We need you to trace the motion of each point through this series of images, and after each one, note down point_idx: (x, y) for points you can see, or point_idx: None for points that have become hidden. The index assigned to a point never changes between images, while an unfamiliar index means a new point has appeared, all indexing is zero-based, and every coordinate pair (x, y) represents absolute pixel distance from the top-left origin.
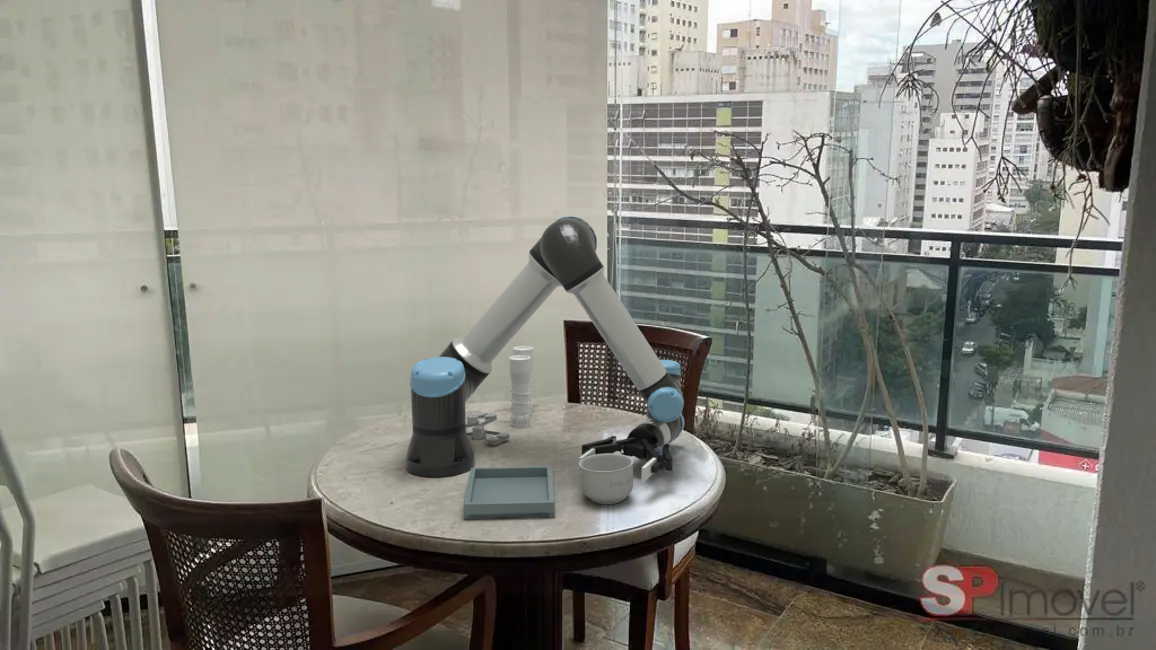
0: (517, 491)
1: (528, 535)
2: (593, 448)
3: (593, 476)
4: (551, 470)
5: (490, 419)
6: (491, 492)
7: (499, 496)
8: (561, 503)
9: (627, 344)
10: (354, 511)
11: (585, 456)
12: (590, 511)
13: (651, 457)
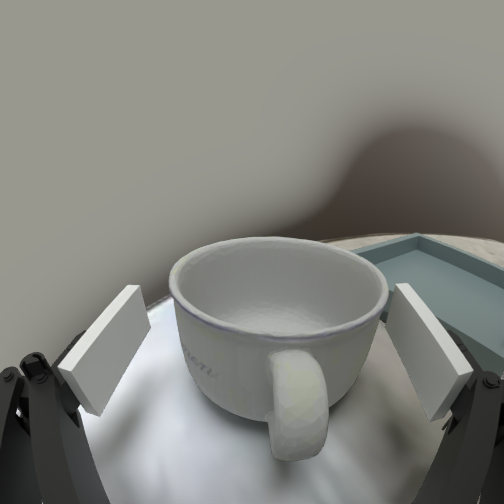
0: (448, 298)
1: None
2: (476, 385)
3: (284, 253)
4: (481, 343)
5: None
6: (464, 283)
7: (444, 279)
8: None
9: None
10: (483, 240)
11: (406, 301)
12: None
13: (80, 465)
